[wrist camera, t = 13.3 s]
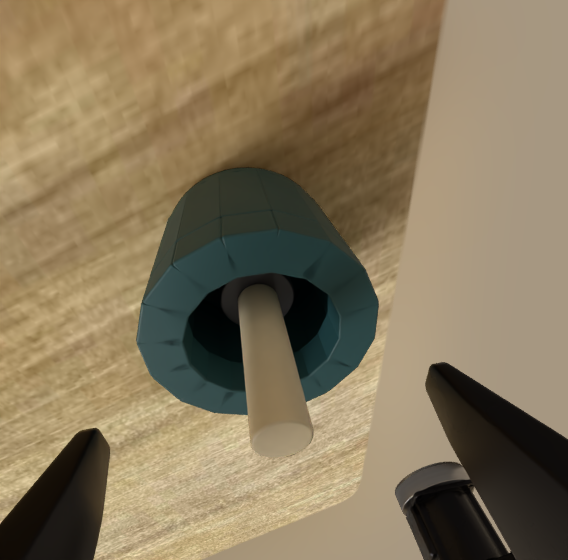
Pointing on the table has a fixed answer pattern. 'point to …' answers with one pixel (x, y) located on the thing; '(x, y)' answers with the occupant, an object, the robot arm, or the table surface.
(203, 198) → the teal faceted cup
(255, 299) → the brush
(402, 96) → the table surface
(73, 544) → the robot arm
